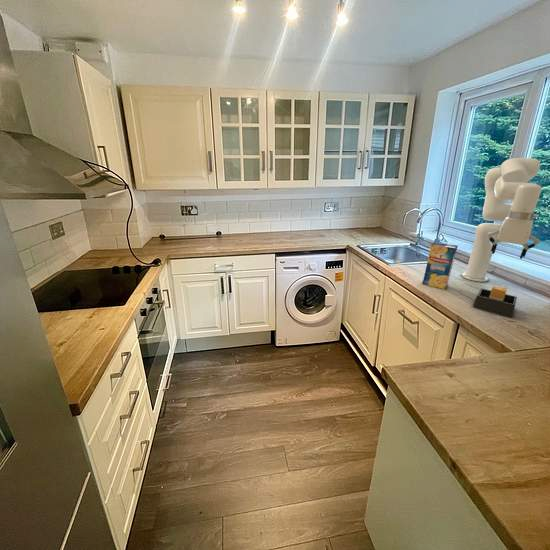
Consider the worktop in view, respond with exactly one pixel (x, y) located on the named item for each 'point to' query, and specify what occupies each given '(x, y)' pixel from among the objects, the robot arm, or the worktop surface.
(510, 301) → the basket
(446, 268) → the blue yellow food box
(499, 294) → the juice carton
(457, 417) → the worktop surface
